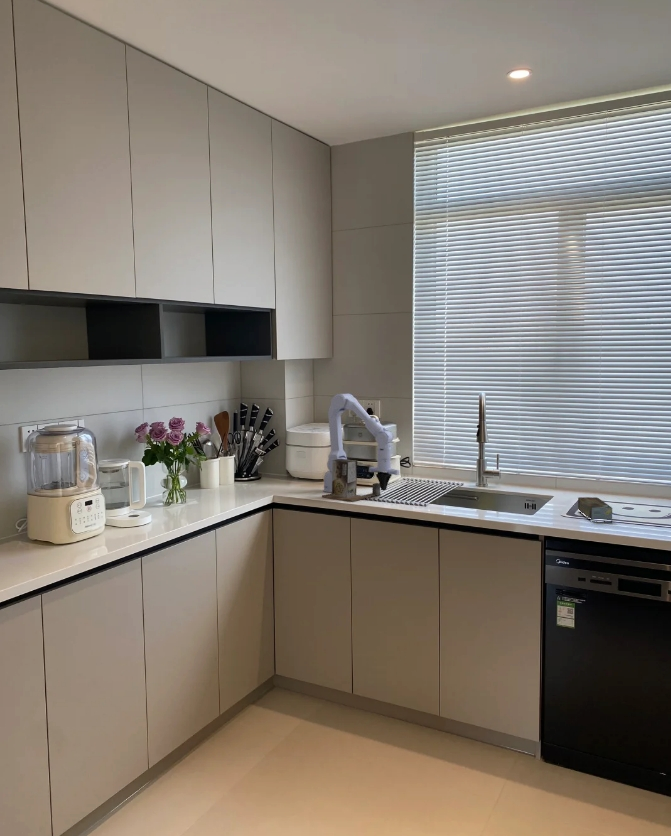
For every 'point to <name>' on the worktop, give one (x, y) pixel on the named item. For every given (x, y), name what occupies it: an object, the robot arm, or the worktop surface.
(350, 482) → the coffee box
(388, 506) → the worktop surface
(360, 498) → the brown board with post
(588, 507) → the beverage carton
